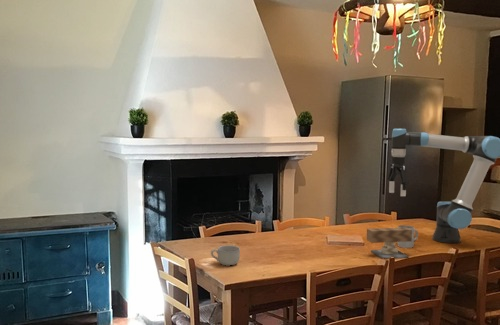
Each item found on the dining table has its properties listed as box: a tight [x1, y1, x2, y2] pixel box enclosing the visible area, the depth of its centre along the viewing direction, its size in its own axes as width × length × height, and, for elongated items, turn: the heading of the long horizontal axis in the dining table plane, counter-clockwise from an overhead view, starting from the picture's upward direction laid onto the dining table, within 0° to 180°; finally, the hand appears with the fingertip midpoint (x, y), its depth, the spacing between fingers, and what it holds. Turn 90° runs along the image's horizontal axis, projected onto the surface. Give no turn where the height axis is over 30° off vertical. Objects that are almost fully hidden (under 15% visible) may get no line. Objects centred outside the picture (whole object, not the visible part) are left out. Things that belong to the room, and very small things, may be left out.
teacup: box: [210, 244, 241, 267], centre depth 227 cm, size 14×11×8 cm
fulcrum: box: [370, 242, 410, 260], centre depth 246 cm, size 14×14×8 cm
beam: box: [366, 227, 412, 244], centre depth 245 cm, size 22×6×6 cm, turn 100°
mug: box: [397, 224, 419, 249], centre depth 265 cm, size 12×8×11 cm
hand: (397, 194), depth 265 cm, fingers open, 13 cm apart
